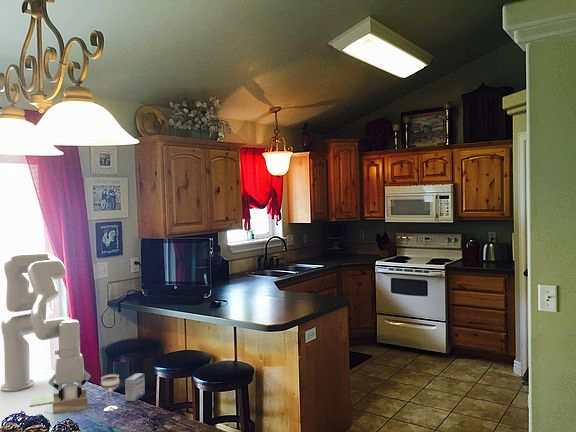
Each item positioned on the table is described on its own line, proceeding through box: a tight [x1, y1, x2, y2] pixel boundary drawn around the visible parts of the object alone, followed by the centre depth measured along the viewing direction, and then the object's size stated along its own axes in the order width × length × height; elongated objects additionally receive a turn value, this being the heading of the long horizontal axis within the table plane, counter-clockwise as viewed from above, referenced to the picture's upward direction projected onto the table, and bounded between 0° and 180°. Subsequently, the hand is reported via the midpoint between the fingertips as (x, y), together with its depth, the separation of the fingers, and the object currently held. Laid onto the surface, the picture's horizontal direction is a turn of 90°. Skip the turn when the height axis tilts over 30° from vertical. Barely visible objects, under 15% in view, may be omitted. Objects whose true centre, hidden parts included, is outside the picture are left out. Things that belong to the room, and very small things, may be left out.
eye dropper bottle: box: [62, 382, 78, 401], centre depth 185 cm, size 4×6×12 cm
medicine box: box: [124, 372, 146, 402], centre depth 193 cm, size 8×4×9 cm, turn 168°
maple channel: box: [52, 388, 89, 415], centre depth 185 cm, size 11×12×4 cm
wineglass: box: [100, 373, 120, 412], centre depth 182 cm, size 7×7×12 cm
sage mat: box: [29, 393, 54, 408], centre depth 191 cm, size 9×9×1 cm
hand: (70, 397), depth 185 cm, fingers closed on eye dropper bottle, 5 cm apart
